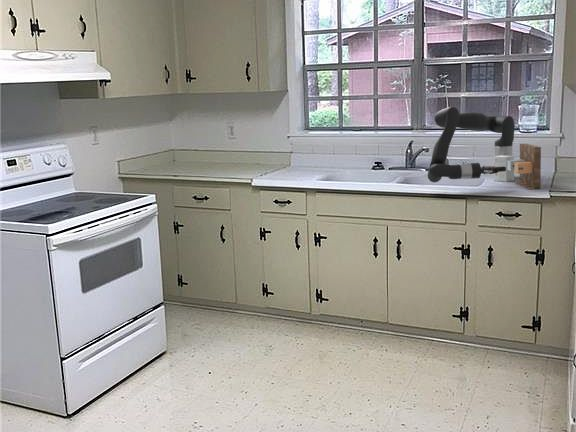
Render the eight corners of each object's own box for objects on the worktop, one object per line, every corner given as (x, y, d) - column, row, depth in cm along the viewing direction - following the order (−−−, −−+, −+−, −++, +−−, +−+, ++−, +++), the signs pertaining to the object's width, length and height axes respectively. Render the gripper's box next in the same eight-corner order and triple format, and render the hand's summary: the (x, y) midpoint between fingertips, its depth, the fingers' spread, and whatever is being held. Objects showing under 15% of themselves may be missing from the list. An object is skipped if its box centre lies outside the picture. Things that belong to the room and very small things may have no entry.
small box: (514, 180, 345) (514, 155, 343) (506, 182, 342) (506, 157, 340) (502, 179, 352) (502, 155, 350) (493, 180, 349) (493, 156, 346)
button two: (514, 172, 322) (514, 162, 321) (532, 171, 321) (533, 161, 321) (518, 173, 317) (518, 163, 316) (536, 172, 316) (536, 162, 315)
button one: (507, 169, 333) (507, 160, 332) (525, 168, 332) (525, 158, 331) (510, 171, 327) (510, 161, 326) (528, 170, 327) (529, 160, 326)
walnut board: (514, 183, 336) (514, 144, 332) (525, 182, 336) (525, 143, 332) (528, 189, 316) (529, 147, 312) (540, 188, 316) (540, 147, 312)
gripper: (472, 164, 312) (509, 162, 312) (466, 161, 325) (501, 159, 325) (473, 180, 314) (509, 178, 313) (466, 176, 327) (501, 174, 326)
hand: (505, 168), depth 319 cm, fingers closed
